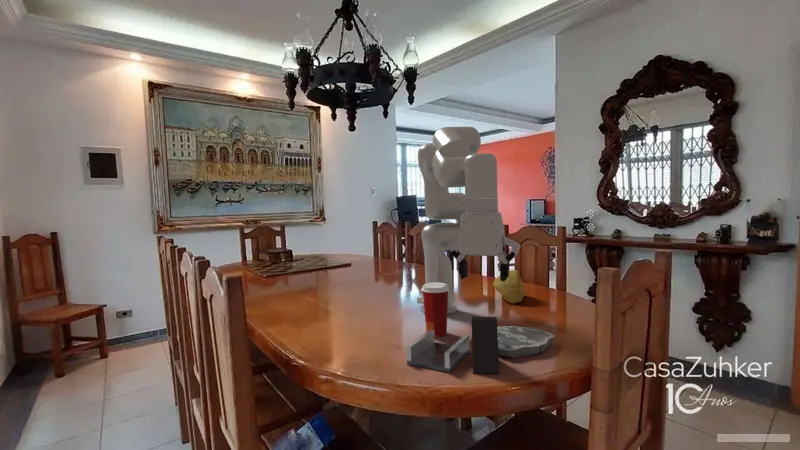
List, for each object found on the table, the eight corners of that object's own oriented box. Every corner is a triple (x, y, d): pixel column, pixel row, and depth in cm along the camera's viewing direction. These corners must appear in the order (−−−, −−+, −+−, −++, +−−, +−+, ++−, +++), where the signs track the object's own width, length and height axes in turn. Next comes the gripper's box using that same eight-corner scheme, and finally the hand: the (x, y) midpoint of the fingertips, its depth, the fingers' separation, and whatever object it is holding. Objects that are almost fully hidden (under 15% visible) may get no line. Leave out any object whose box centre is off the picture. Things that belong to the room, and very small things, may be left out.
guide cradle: (407, 364, 98) (406, 346, 98) (430, 345, 110) (430, 329, 110) (449, 372, 92) (449, 354, 92) (469, 351, 105) (469, 334, 104)
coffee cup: (452, 330, 122) (451, 282, 121) (447, 339, 114) (445, 288, 113) (426, 328, 124) (425, 281, 123) (419, 337, 117) (417, 287, 116)
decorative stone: (479, 294, 156) (500, 269, 148) (495, 282, 167) (516, 258, 159) (504, 318, 151) (527, 294, 143) (519, 304, 163) (541, 281, 155)
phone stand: (499, 374, 90) (498, 323, 90) (472, 373, 91) (471, 323, 91) (496, 359, 99) (495, 312, 98) (472, 358, 100) (471, 311, 100)
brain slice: (513, 331, 120) (513, 321, 120) (564, 347, 106) (564, 336, 106) (466, 346, 109) (466, 335, 109) (515, 366, 95) (515, 354, 95)
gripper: (441, 208, 94) (443, 279, 95) (515, 206, 85) (516, 284, 86) (453, 207, 100) (455, 274, 101) (522, 205, 92) (524, 278, 93)
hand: (483, 278), depth 94 cm, fingers open, 9 cm apart
